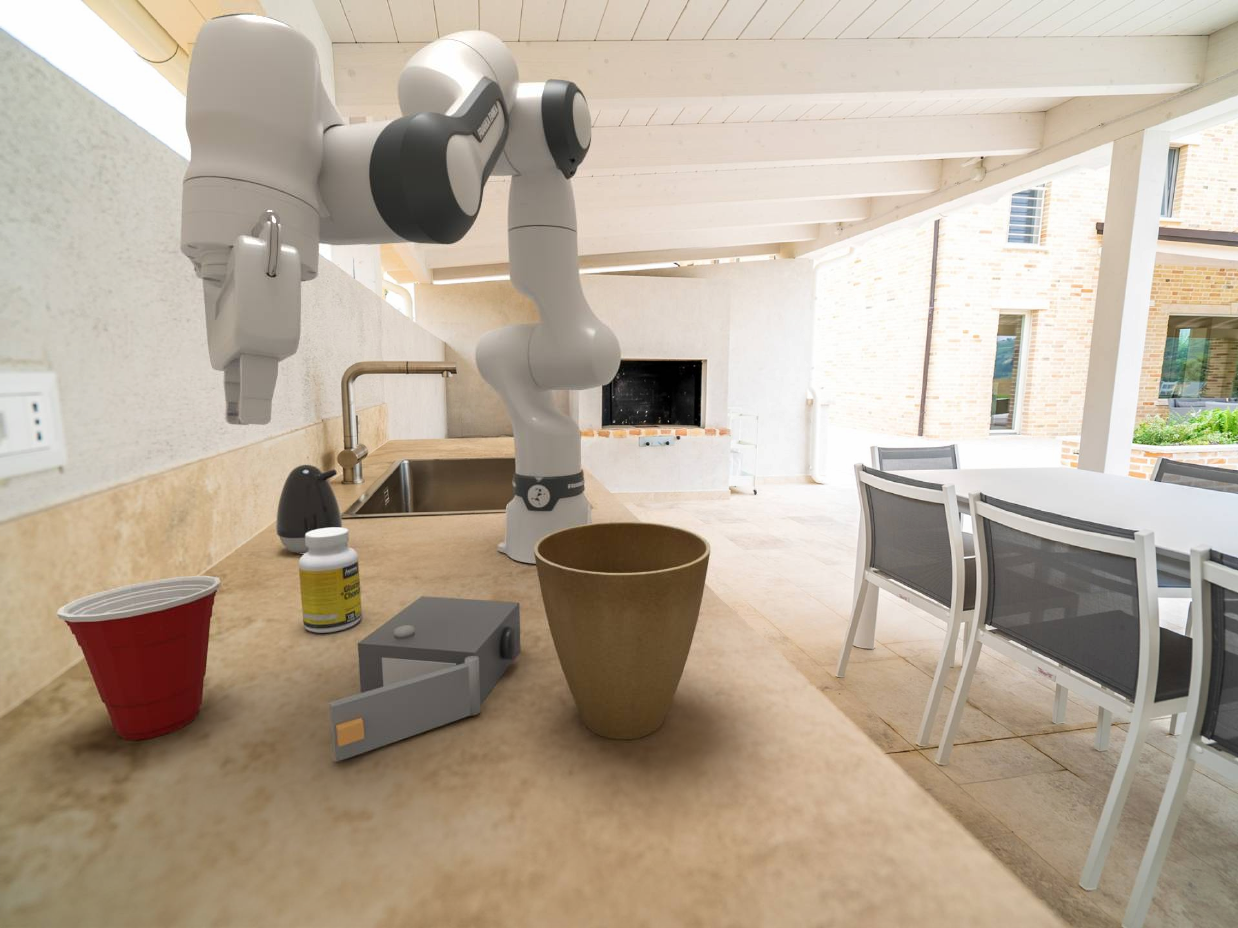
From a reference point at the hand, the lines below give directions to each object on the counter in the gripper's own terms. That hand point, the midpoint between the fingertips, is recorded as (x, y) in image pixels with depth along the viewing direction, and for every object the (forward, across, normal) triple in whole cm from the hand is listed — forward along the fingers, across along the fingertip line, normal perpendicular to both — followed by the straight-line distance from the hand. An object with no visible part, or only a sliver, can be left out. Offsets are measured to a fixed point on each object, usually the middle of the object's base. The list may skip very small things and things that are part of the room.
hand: (245, 424), depth 44 cm
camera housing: (+24, +4, -19) cm, 31 cm away
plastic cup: (+26, +11, +4) cm, 29 cm away
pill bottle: (+24, +24, -12) cm, 36 cm away
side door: (+25, -5, -12) cm, 28 cm away
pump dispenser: (+21, +60, -17) cm, 66 cm away
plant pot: (+24, -14, -28) cm, 39 cm away
